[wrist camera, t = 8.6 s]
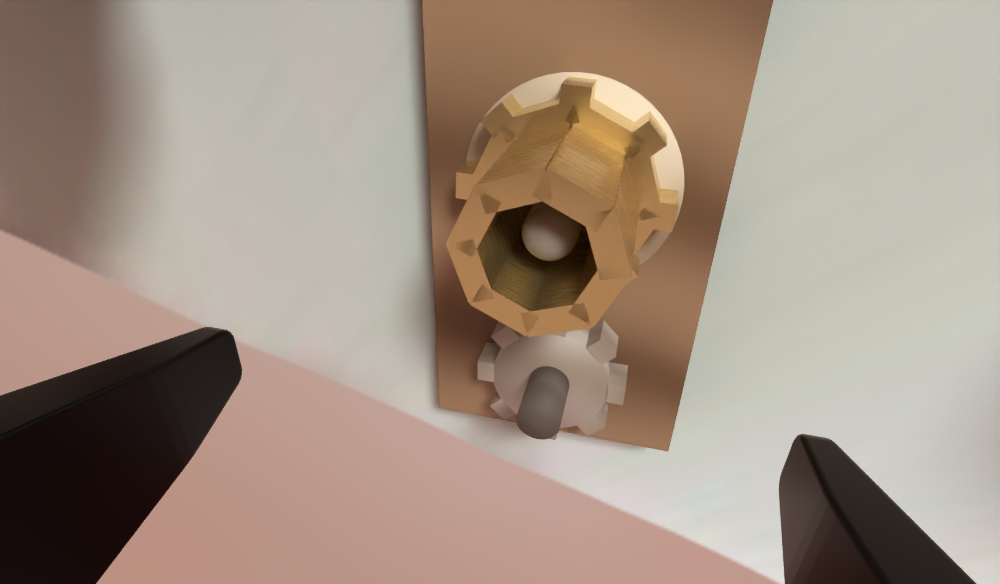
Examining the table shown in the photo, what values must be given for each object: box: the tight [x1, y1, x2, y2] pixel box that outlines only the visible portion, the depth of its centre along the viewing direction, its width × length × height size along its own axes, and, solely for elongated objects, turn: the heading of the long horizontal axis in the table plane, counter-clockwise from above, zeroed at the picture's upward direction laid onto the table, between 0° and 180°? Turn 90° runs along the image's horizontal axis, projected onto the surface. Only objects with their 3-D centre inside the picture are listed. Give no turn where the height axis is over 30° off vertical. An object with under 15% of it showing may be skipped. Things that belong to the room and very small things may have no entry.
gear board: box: [422, 0, 773, 451], centre depth 16 cm, size 19×9×6 cm, turn 179°
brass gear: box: [446, 76, 679, 337], centre depth 15 cm, size 6×6×5 cm
